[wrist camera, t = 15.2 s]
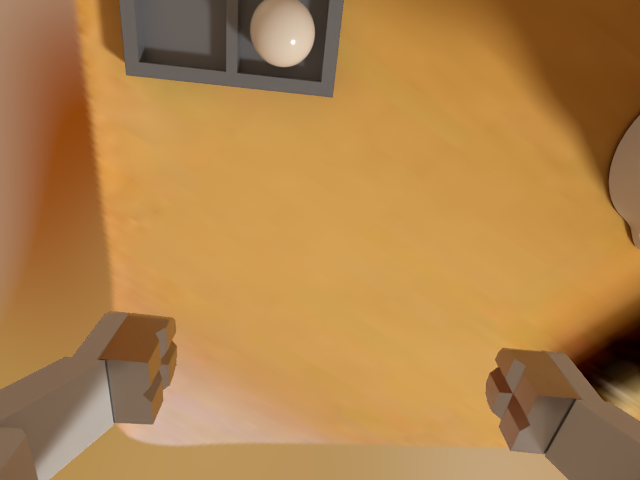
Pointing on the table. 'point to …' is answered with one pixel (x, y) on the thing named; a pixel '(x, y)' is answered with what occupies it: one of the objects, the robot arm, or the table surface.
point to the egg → (282, 32)
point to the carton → (224, 45)
